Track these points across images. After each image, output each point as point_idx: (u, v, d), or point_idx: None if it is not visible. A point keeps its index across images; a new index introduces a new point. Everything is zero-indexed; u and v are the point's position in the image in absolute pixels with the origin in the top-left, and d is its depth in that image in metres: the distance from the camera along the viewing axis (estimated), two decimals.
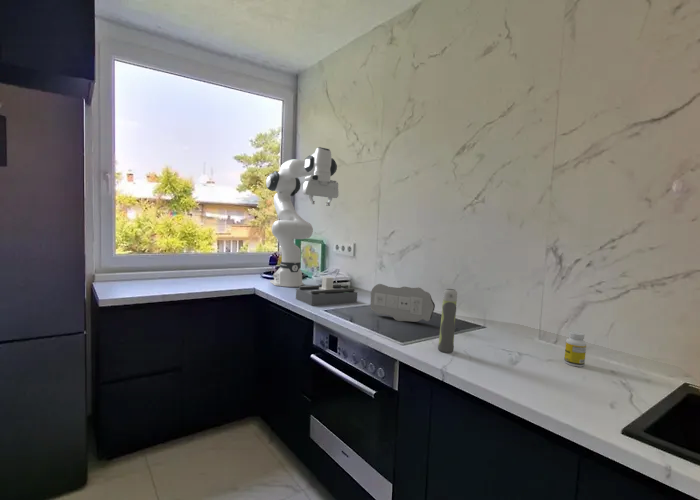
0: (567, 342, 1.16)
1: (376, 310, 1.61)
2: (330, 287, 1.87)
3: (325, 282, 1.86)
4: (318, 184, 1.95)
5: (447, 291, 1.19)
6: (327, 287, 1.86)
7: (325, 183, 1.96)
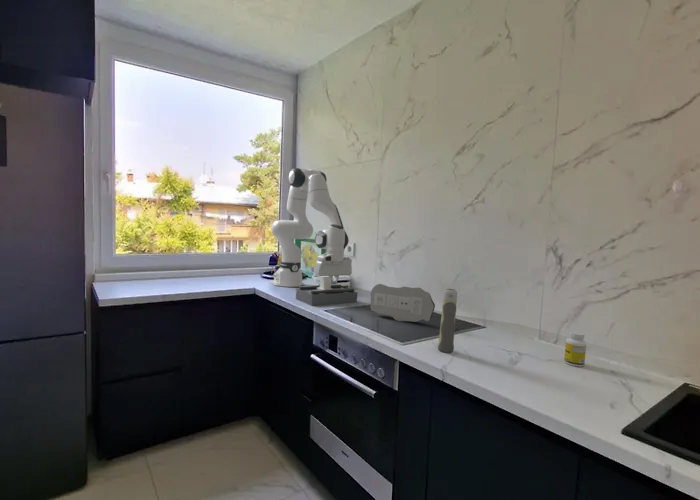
0: (567, 342, 1.16)
1: (376, 310, 1.61)
2: (328, 287, 1.86)
3: (323, 282, 1.85)
4: (331, 264, 1.86)
5: (447, 291, 1.19)
6: (325, 287, 1.85)
7: (338, 262, 1.87)
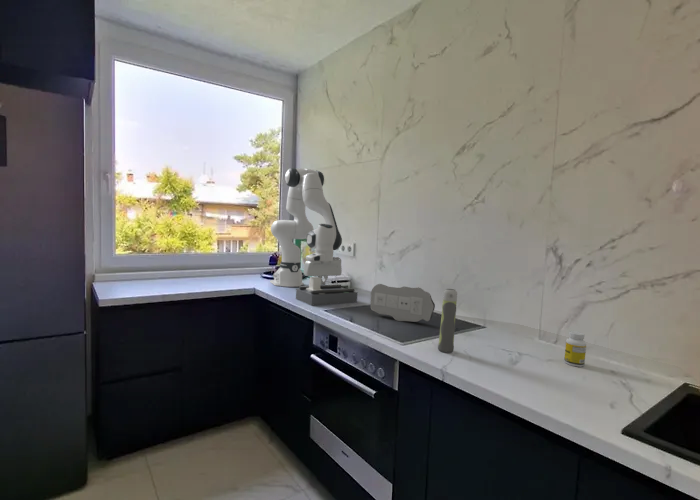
0: (567, 342, 1.16)
1: (376, 310, 1.61)
2: (317, 288, 1.83)
3: (312, 283, 1.81)
4: (320, 264, 1.83)
5: (447, 291, 1.19)
6: (314, 288, 1.82)
7: (327, 262, 1.84)
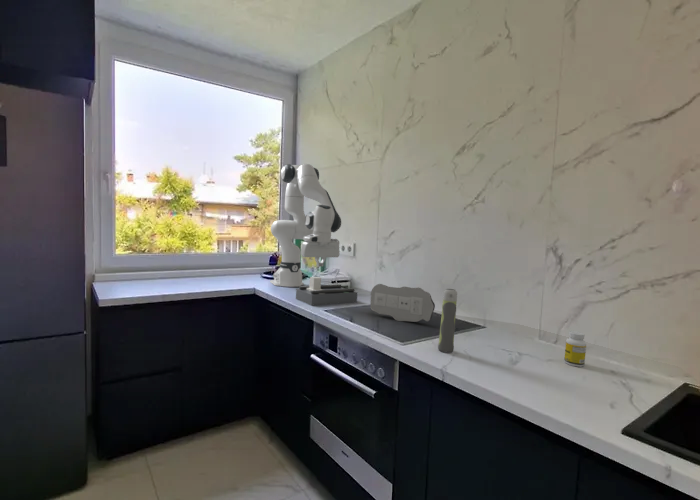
0: (567, 342, 1.16)
1: (376, 310, 1.61)
2: (318, 288, 1.83)
3: (313, 283, 1.81)
4: (318, 245, 1.81)
5: (447, 291, 1.19)
6: (315, 288, 1.82)
7: (325, 244, 1.82)
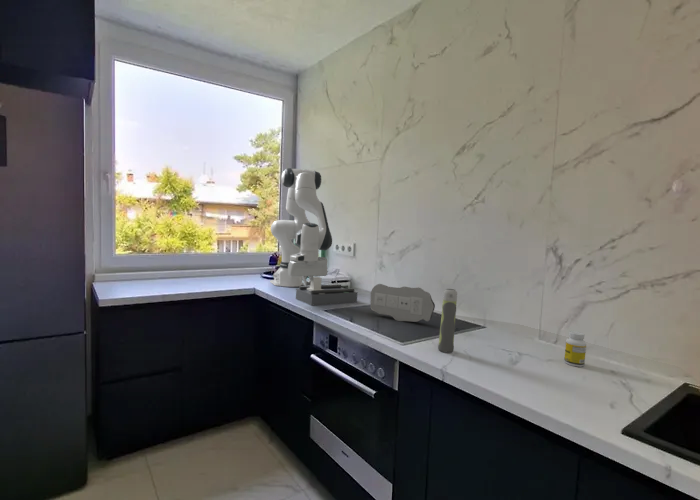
0: (567, 342, 1.16)
1: (376, 310, 1.61)
2: (318, 288, 1.83)
3: (313, 283, 1.82)
4: (304, 264, 1.78)
5: (447, 291, 1.19)
6: (315, 288, 1.82)
7: (312, 263, 1.79)
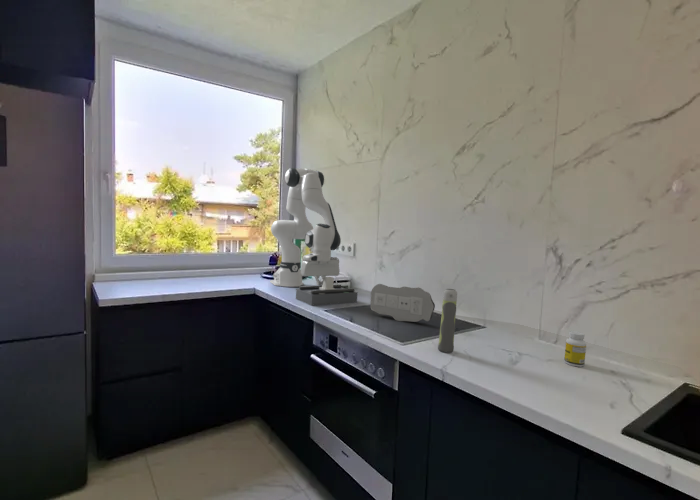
0: (567, 342, 1.16)
1: (376, 310, 1.61)
2: (330, 287, 1.87)
3: (326, 282, 1.86)
4: (317, 264, 1.82)
5: (447, 291, 1.19)
6: (327, 287, 1.86)
7: (325, 263, 1.83)
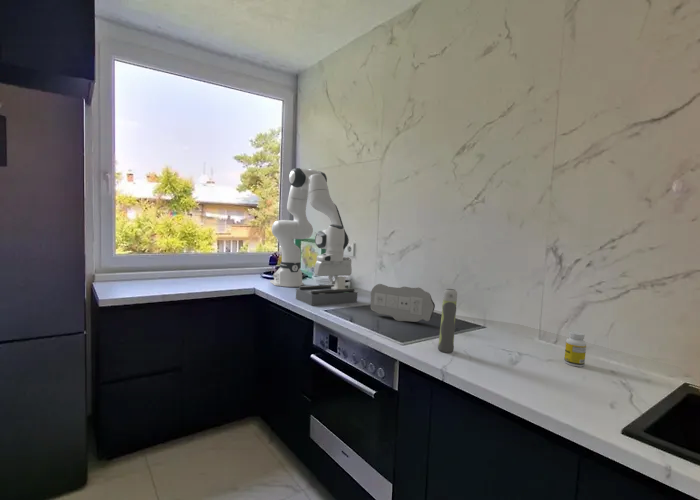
0: (567, 342, 1.16)
1: (376, 310, 1.61)
2: (342, 287, 1.91)
3: (338, 282, 1.90)
4: (331, 264, 1.86)
5: (447, 291, 1.19)
6: (339, 286, 1.90)
7: (338, 263, 1.87)
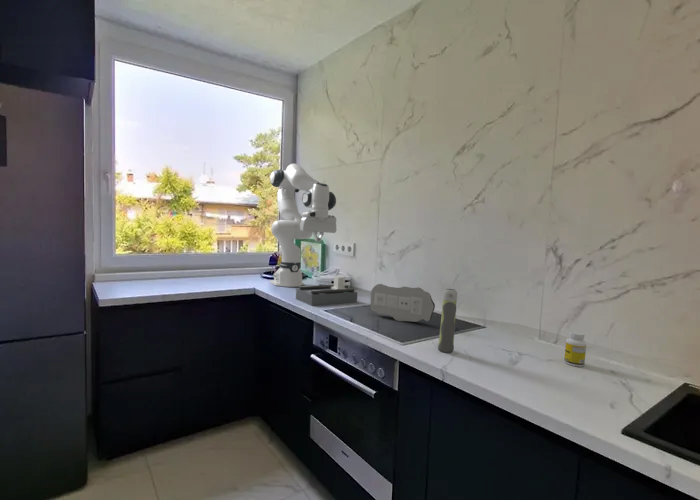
0: (567, 342, 1.16)
1: (376, 310, 1.61)
2: (342, 287, 1.91)
3: (337, 282, 1.90)
4: (316, 220, 1.93)
5: (447, 291, 1.19)
6: (339, 286, 1.90)
7: (323, 219, 1.94)
